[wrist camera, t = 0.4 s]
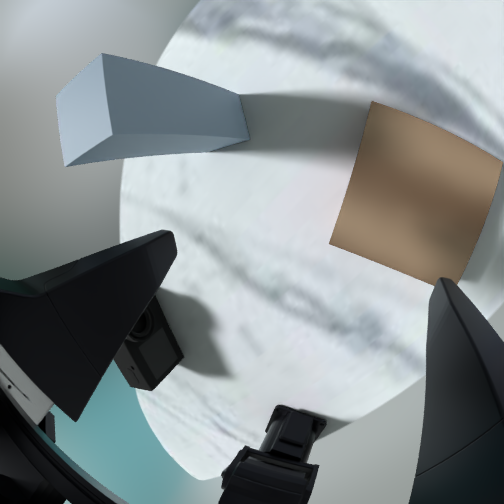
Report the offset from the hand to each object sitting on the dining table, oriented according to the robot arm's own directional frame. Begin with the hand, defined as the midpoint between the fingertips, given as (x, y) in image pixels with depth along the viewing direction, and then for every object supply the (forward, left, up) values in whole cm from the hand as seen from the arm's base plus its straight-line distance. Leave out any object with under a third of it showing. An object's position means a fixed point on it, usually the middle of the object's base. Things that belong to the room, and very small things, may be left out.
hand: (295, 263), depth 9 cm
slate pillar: (+4, +10, -14) cm, 18 cm away
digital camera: (-19, +16, -14) cm, 28 cm away
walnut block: (+2, -6, -14) cm, 15 cm away
